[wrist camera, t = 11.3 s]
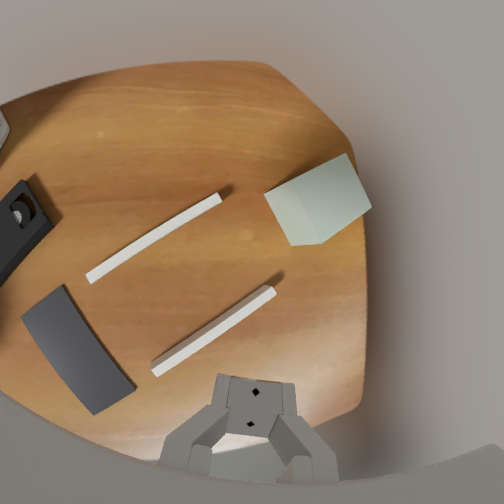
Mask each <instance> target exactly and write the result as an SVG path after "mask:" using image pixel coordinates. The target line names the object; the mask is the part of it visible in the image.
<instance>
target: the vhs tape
mask: <svg viewBox="0 0 504 504" xmlns="http://www.w3.org/2000/svg"><path fill="white" fill-rule="evenodd" d="M21 193H25V194H27V195H28V196H29V197H30V198H31V200H32V201H33V203H34V206H35V209H36V216H35V214H34V213H33V211H32V209H31V208H30V206H29V205H28V204H26V203H24V202H21V201H16V202H14V200H15V199H16V198H17V197H18V196H19V195H20V194H21ZM33 217H34V218H33ZM53 228H54V225H53V224H52V222H51V221H50V219H49V218H48V216H47V215H46V213H45V211H44V210H43V208H42V207H41V205H40V203H39V201H38V200H37V198H36V196H35V195H34V193H33V191H32V189H31V188H30V186H29V184H28V183H27V182H26V181H24V180H20V181H19V182H18V183H17V184H16V185H15V186H14V187H13V188H12V189H11V190H10V191H9V193H8V194H7V195H6V196H5V197H4V198H3V199H2V200H1V201H0V287H1V286H2V285H3V283H4V282H5V281H6V280H7V278H8V277H9V276H10V275H11V273H12V272H13V271H14V270H15V269H16V268H17V266H18V265H19V264H20V263H21V262H22V261H23V260H24V258H25V257H26V256H27V255H28V254H29V253H30V252H31V251H32V250H33V249H34V247H35V246H36V245H37V244H38V243H39V242H40V241H41V240H42V239H43V238H44V237H45V236H46V235H47V234H48V233H49V232H50V231H51V230H52V229H53Z"/></svg>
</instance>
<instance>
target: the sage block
mask: <svg viewBox="0 0 504 504" xmlns="http://www.w3.org/2000/svg"><path fill="white" fill-rule="evenodd" d="M264 196H265V198H266V199H267V201H268V203H269V205H270V207H271V209H272V211H273V213H274V214H275V216H276V218H277V220H278V222H279V224H280V226H281V228H282V229H283V231H284V233H285V235H286V237H287V239H288V241H289V243H290V245H291V246H297V245H311V244H322V243H323V242H325V241H326V240H327V239H329V238H330V237H332V236H333V235H334V234H336V233H337V232H339V231H340V230H341V229H343V228H344V227H346V226H347V225H348V224H350V223H351V222H352V221H354V220H355V219H357V218H358V217H359V216H361V215H362V214H363V213H365V212H366V211H367V210H369V209H370V208H371V207H372V206H371V204H370V202H369V200H368V197H367V195H366V193H365V191H364V188H363V186H362V184H361V182H360V180H359V178H358V176H357V174H356V172H355V170H354V168H353V166H352V164H351V162H350V160H349V158H348V156H347V154H346V153H344V154H342V155H340V156H338V157H336V158H334V159H332V160H330V161H328V162H325V163H323V164H321V165H319V166H317V167H315V168H313V169H311V170H309V171H307V172H305V173H303V174H301V175H299V176H297V177H295V178H294V179H292V180H290V181H288V182H286V183H284V184H282V185H280V186H278V187H276V188H274V189H272V190H271V191H269V192H267V193H265V194H264Z"/></svg>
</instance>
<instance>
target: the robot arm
mask: <svg viewBox="0 0 504 504" xmlns="http://www.w3.org/2000/svg"><path fill="white" fill-rule="evenodd" d="M9 130H10V128H9V125H8V123H7V121H6V120H5V118H4V116H3V114H2V112H1V110H0V148H1V147H2V145H3V143H4V142H5V140H6V138H7V136H8V134H9ZM230 377H231V378H230ZM225 433H232V434H240V435H249V436H257V437H265V438H268V440H269V441H270V443H271V445H272V446H273V448H274V449H275V451H276V452H277V454H278V456H279V457H280V458H281V460H282V462H283V463H284V465H285V466H286V468H285V469H284V471H283V472H282V473H281V475H280V476H279V477H278V478H277V480H276V483H268V482H252V481H243V480H233V479H225V478H219V477H212V476H209V469H210V462H211V455H212V449H211V448H212V447H213V446H214V445H215V444H216V443H217V442H218V441H219V440H220V439H221V438H222V437H223V436H224V435H225ZM0 504H504V450H503V449H502V448H500V447H499V446H497V445H495V444H488V445H485V446H483V447H481V448H478V449H476V450H473V451H471V452H468V453H465V454H463V455H460V456H458V457H454V458H452V459H449V460H445V461H442V462H439V463H436V464H432V465H429V466H425V467H422V468H417V469H414V470H410V471H405V472H400V473H396V474H391V475H385V476H379V477H374V478H366V479H359V480H351V481H339V477H338V470H337V462H336V456H335V454H334V453H333V451H332V450H331V449H330V448H329V447H328V446H327V445H326V444H325V443H324V442H323V440H322V439H321V438H320V437H319V436H318V435H317V434H316V433H315V432H314V430H313V429H312V428H311V427H310V426H309V425H308V424H307V422H306V421H305V420H304V419H303V418H302V417H301V416H297V407H296V395H295V385H294V384H293V383H283V382H274V381H265V380H254V379H248V378H242V377H237V376H230V375H225V374H220V373H218V374H217V378H216V383H215V388H214V393H213V398H212V403H211V405H206V406H205V407H204V408H202V409H201V410H200V411H199V412H197V413H196V414H195V415H194V416H192V417H191V418H190V419H188V420H187V421H186V422H185V423H183V424H182V425H181V426H179V427H178V428H177V429H175V430H174V431H173V432H171V433H170V434H169V435H167V436H166V439H165V442H164V446H163V449H162V452H161V456H160V459H159V463H158V464H154V463H150V462H147V461H144V460H140V459H137V458H134V457H131V456H128V455H125V454H122V453H120V452H117V451H114V450H112V449H109V448H106V447H104V446H101V445H99V444H96V443H94V442H92V441H89V440H87V439H85V438H83V437H80V436H78V435H76V434H74V433H72V432H70V431H68V430H66V429H64V428H62V427H60V426H58V425H56V424H54V423H52V422H50V421H49V420H47V419H45V418H43V417H42V416H40V415H38V414H36V413H35V412H33V411H31V410H30V409H28V408H26V407H25V406H23V405H22V404H20V403H19V402H17V401H16V400H14V399H13V398H11V397H10V396H8V395H7V394H5V393H4V392H3V391H1V390H0Z"/></svg>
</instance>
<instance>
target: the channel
mask: <svg viewBox="0 0 504 504" xmlns="http://www.w3.org/2000/svg"><path fill="white" fill-rule="evenodd" d="M221 202H222V200H221V198H220V196H219V195H218V193H215V194H214V195H212V196H210V197H208V198H207V199H205V200H203V201H201V202H200V203H198V204H196V205H194V206H193V207H191V208H189V209H187V210H186V211H184V212H182V213H181V214H179V215H177V216H176V217H174V218H172V219H171V220H169V221H167V222H166V223H164V224H162V225H161V226H159V227H157V228H156V229H154V230H153V231H151V232H149V233H148V234H146V235H145V236H143V237H141V238H140V239H138V240H137V241H135V242H134V243H132V244H130V245H129V246H127V247H126V248H124V249H123V250H121V251H120V252H118V253H117V254H115V255H114V256H112V257H111V258H109V259H108V260H106V261H105V262H103V263H102V264H100V265H99V266H97V267H96V268H94V269H93V270H92V271H90V272H89V273H87V274H86V277H87V278H88V280H89V282H90V284H92V283H94V282H96V281H97V280H99V279H100V278H102V277H103V276H105V275H106V274H107V273H109V272H110V271H112V270H113V269H115V268H116V267H118V266H119V265H121V264H122V263H124V262H125V261H127V260H128V259H130V258H132V257H133V256H135V255H136V254H138V253H139V252H141V251H142V250H144V249H145V248H147V247H149V246H150V245H152V244H153V243H155V242H157V241H158V240H160V239H161V238H163V237H165V236H166V235H168V234H169V233H171V232H173V231H174V230H176V229H178V228H179V227H181V226H182V225H184V224H186V223H187V222H189V221H191V220H192V219H194V218H196V217H197V216H199V215H201V214H203V213H204V212H206V211H208V210H209V209H211V208H213V207H215V206H216V205H218V204H219V203H221ZM275 295H276V292H275V291H274V289H273V287H272V286H268V285H263V286H262V287H260V288H259V289H257V290H256V291H255V292H253V293H252V294H250V295H249V296H248V297H246V298H245V299H243V300H242V301H240V302H239V303H238V304H236V305H235V306H233V307H232V308H230V309H229V310H228V311H226V312H225V313H223V314H222V315H220V316H219V317H217V318H216V319H215V320H213V321H212V322H210V323H209V324H207V325H206V326H204V327H203V328H201V329H200V330H198V331H197V332H196V333H194V334H193V335H191V336H190V337H188V338H187V339H185V340H184V341H182V342H181V343H179V344H178V345H176V346H175V347H173V348H172V349H170V350H169V351H167V352H166V353H164V354H163V355H161V356H160V357H158V358H156V359H155V360H153V361H152V362H151V370H152V372H153V373H154V374H155V375H156V377H158V376H160V375H161V374H163V373H164V372H166V371H168V370H169V369H171V368H172V367H174V366H175V365H177V364H178V363H180V362H181V361H183V360H184V359H186V358H187V357H189V356H190V355H192V354H193V353H195V352H196V351H198V350H199V349H201V348H202V347H204V346H205V345H206V344H208V343H209V342H211V341H212V340H214V339H215V338H217V337H218V336H219V335H221V334H222V333H224V332H225V331H227V330H228V329H229V328H231V327H232V326H234V325H235V324H237V323H238V322H239V321H241V320H242V319H244V318H245V317H246V316H248V315H249V314H251V313H252V312H253V311H255V310H256V309H257V308H259V307H260V306H262V305H263V304H264V303H266V302H267V301H268V300H270V299H271V298H272V297H274V296H275ZM21 319H22V321H23V322H24V324H25V326H26V327H27V329H28V331H29V332H30V334H31V335H32V337H33V339H34V340H35V342H36V343H37V345H38V346H39V348H40V349H41V351H42V352H43V354H44V355H45V356H46V358H47V359H48V361H49V362H50V363H51V365H52V366H53V368H54V369H55V370H56V372H57V373H58V374H59V376H60V377H61V378H62V379H63V381H64V382H65V383H66V384H67V386H68V387H69V388H70V389H71V391H72V392H73V393H74V394H75V395H76V396H77V398H78V399H79V400H80V401H81V402H82V403H83V404H84V406H85V407H86V408H87V409H88V410H89V411H90V412H91V413H92V414H93V415H96V414H97V413H99V412H101V411H103V410H104V409H106V408H108V407H109V406H111V405H113V404H114V403H116V402H118V401H119V400H121V399H123V398H124V397H126V396H127V395H129V394H131V393H132V392H134V391H136V388H135V387H134V386H133V385H132V383H131V382H130V381H129V380H128V379H127V377H126V376H125V375H124V374H123V373H122V371H121V370H120V369H119V368H118V366H117V365H116V364H115V363H114V361H113V360H112V359H111V357H110V356H109V355H108V353H107V352H106V351H105V349H104V348H103V347H102V345H101V344H100V343H99V341H98V340H97V338H96V337H95V336H94V334H93V333H92V331H91V330H90V328H89V327H88V325H87V324H86V322H85V321H84V319H83V318H82V316H81V315H80V313H79V312H78V310H77V309H76V307H75V305H74V304H73V302H72V300H71V299H70V297H69V295H68V294H67V292H66V290H65V289H64V287H63V285H61V286H60V287H59V288H57V289H56V290H55V291H53V292H52V293H51V294H49V295H48V296H47V297H46V298H44V299H43V300H42V301H40V302H39V303H38V304H37V305H35V306H34V307H33V308H31V309H30V310H29V311H28V312H26V313H25V314H24V315H23V316H22V317H21Z"/></svg>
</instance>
